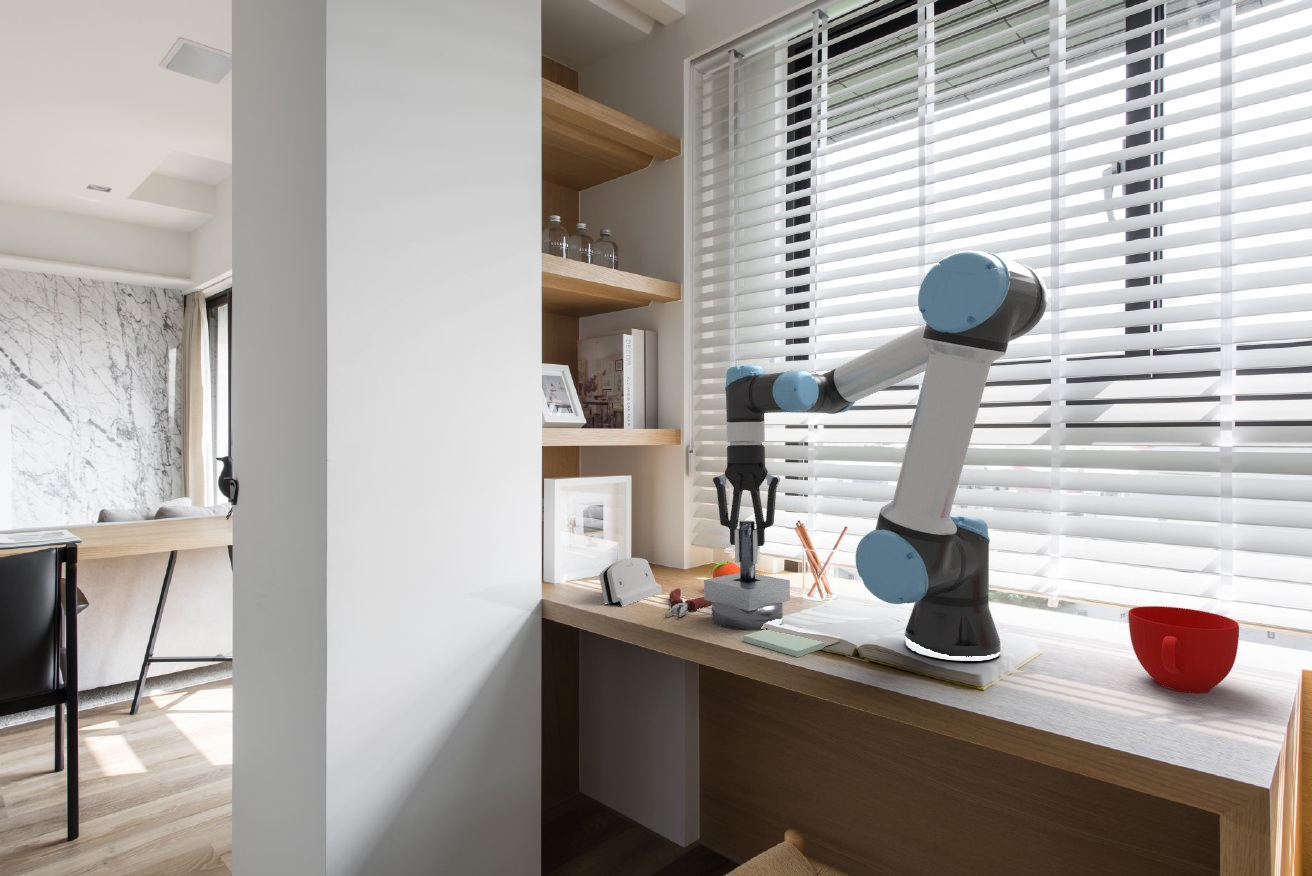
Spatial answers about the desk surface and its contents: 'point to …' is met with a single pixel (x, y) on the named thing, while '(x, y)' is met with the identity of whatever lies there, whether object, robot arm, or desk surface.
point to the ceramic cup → (1183, 646)
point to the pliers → (685, 604)
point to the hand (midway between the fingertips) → (747, 561)
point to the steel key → (746, 551)
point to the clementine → (725, 569)
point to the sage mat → (784, 642)
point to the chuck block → (746, 600)
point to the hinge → (628, 581)
